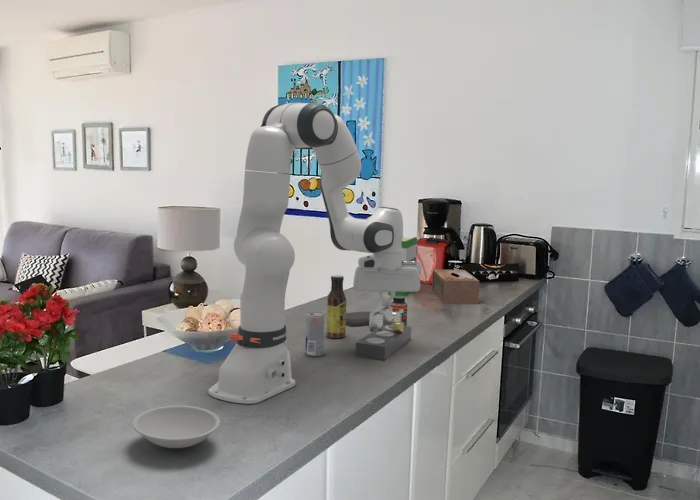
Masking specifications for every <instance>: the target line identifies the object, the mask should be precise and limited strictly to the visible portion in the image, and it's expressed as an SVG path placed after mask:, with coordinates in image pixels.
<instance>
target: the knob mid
mask: <svg viewBox="0 0 700 500" xmlns="http://www.w3.org/2000/svg"><path fill="white" fill-rule="evenodd" d="M378 311H379V312H381V313H383V325H385V326H387V325H392V307H390V306H382V305H381V306H379V308H378Z"/></svg>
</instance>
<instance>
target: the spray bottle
mask: <svg viewBox="0 0 700 500" xmlns="http://www.w3.org/2000/svg"><path fill="white" fill-rule="evenodd" d="M371 312H372V311H355V312H346V327H347V326H348V327H363V326H369V313H371Z"/></svg>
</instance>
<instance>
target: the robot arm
mask: <svg viewBox="0 0 700 500" xmlns="http://www.w3.org/2000/svg"><path fill="white" fill-rule="evenodd" d="M296 148H297V149H306V148H311V149H313V151H314V155H315V158H316V161H317V163H318V166H319V168H320V173H321V176H320V178H319V187H320V192H321V196H322V200H323V203H324V207H325V211H326V215H327V218H328V223H329V232H330V239H331V243H332V244H333V246H334V247H335V248H336V249H338V250H340V251H354V252H359V253H368V254H369V255H366V256H362V257H361V256H360V257H359V258H358V260H357V262H358V266H357V267H356V268H355V270H354V274H353V275H354V276H353V289H354V291H356V292H377V294H378V296H379V298H380V306H381V307H382V306H389V307H390V306H391V303H392V301H393V298H394V296H395V292H411V293H412V292H413V293H415V292H416V293H417V292H419V291H420V289H421V278H420V277H421V276H420V275H421V273H422V265H421V263H419V262H418V261H417V260H416V261H402V246H401V243H402V239H403V238H404V219H403V215H402V211H400V210H399V209H398V208H394V207H387V206H379V207H377V208H376V210H375V212H374V213H373V214H371V216H368V217H367V218H357V217H354V216H353V215H351V214H350V213H349V211H348V209H347V204H346V200H345V196H344V188H346V187H348V186H350V185H351V184H352V183H354V181H356V180H357V179H358V177H359V175H360V173H361V171H362V160H361V156H360V153H359V150H358V148H357V144H356V143H355V140H354V138H353V136H352V133H351V131H350V130H349V128H348V126H347V124H346V122H345V121H344V119H343V118H342V117H341V116H340V115H337V114H334V113H333V111H332V110H331V109H330V108H329V107H328V106H326V105H324V104H323V103H318V102H311V103H310V102H309V103H306V102H299V101H298V102H290V103H285V104H284V103H283V104H282V103H281V104H277V105H275V106H272V107H270V108H269V109H268V110H267V111H266V113H265V114H264V116H263V119H262V121H261V125H260V127H258V128H255V129H254V130H253V131H252V133H251V135H250V138H249V142H248V146H247V151H246V157H245V165H244V180H243V196H242V204H241V205H242V206H241V210H240V215H239V219H238V225H237V230H236V236H235V238H234V241H233V250H234V253H235V256H236V258H237V259H238V261H239V262H240V263H241V264H242V265H243V266H244V267H245V273H244V274H245V275H244V281H243V287H242V292H241V293H240V297H239V298H240V299H239V301H240V306H239V307H240V310H239V311H240V313H239V315H240V325H239V327H238V330H237V333H236V332H231V333H230V334H229V340H230V341H232V342H235V344H234V345H235V346H234V347H233V348H232V349H231V351H230V352H229V354H228V355H227V357H226V359H225V360H224V361H223V363H222V364H221V366H220V368H219V371H218V381H217V382H216V383H215V384H213V385H212V386H210V387H209V389H207V390H208V392H207V394H208V395H209V396H210V397H212V398H215V399H219V400H222V401H225V402H231V403H236V404H258V403H260V402H262V401H264V400H267V399H269V398H271V397H273V396H275V395H277V394H280V393H283V392H285V391H287V390H289V389H291V388H293V387H295V386H296V380H295V379H294V378H293V376H292V366H291V364H292V363H291V354H290V353H291V352H290V351H289V349H288V347H287V345H286V341H287V334H288V332H287V326H286V325H285V317H286V316H285V315H286V313H285V312H286V311H285V308H286V307H285V306H286V305H285V303H286V302H285V300H286V291H287V285H288V281H289V277H290V272H291V271H290V270H291V269H292V268H293V266H294V264H295V259H296V258H295V257H296V255H295V254H296V253H295V248H294V247H293V245H292V244H291V242H290V241H289V240H288V238H287V237H286V236H284V235H283V234H282V233H281V226H282V223H283V219H284V216H285V213H286V211H287V209H288V207H289V198H290V186H291V185H290V184H291V171H292V170H291V165H292V164H291V163H292V162H291V161H292V154H293V153H294V151H295V149H296ZM385 292H390V294H391V296H390V295H389V297H388V298H384V297H383V295H384V293H385Z"/></svg>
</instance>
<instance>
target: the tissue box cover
mask: <svg viewBox="0 0 700 500" xmlns="http://www.w3.org/2000/svg"><path fill="white" fill-rule="evenodd" d="M431 288H432V289H431V291H432V292H433V294H434V295H435V296H436V297H437V299H438V300H439V301H440V302H441V304H442V305H443V304H444V305H479V295H480V294H479V292H480V280H478V278H476V277H475V276H473V274H471V273H469V272H468V271H466V270H465V269H435V268H434V269H432V283H431Z"/></svg>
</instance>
